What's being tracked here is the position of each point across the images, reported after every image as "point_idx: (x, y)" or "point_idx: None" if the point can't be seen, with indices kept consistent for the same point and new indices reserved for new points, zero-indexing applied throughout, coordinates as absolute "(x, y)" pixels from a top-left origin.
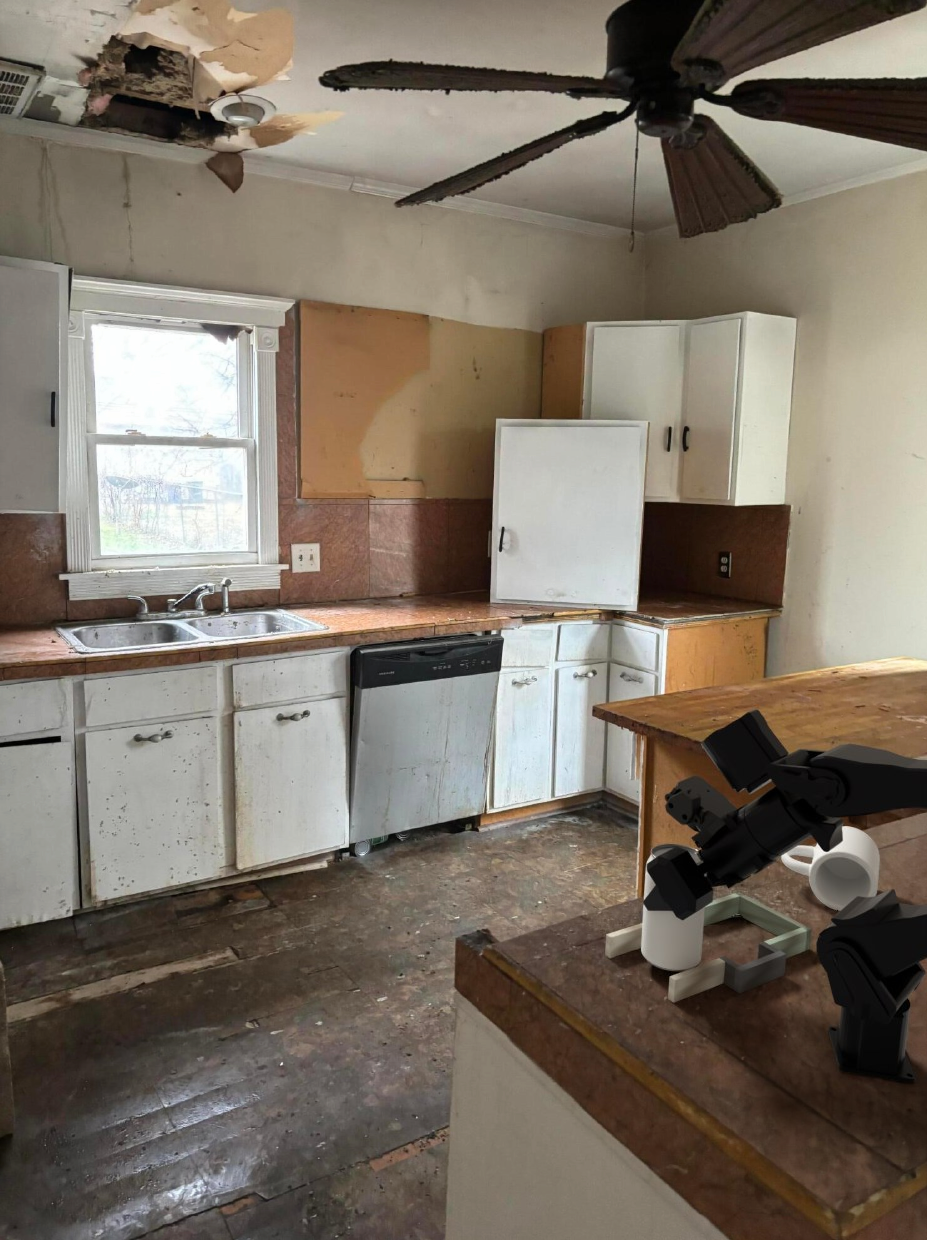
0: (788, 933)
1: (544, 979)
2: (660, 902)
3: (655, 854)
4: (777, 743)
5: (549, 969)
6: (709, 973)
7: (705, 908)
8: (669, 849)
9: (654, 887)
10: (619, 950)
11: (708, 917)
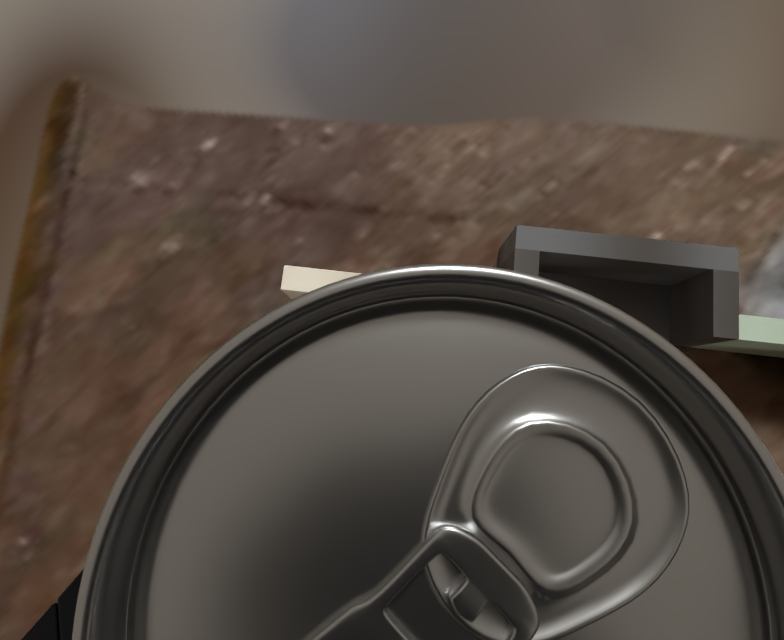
0: None
1: (65, 272)
2: None
3: (273, 390)
4: None
5: (115, 244)
6: None
7: (749, 341)
8: (552, 389)
9: (57, 602)
10: None
11: (739, 347)
